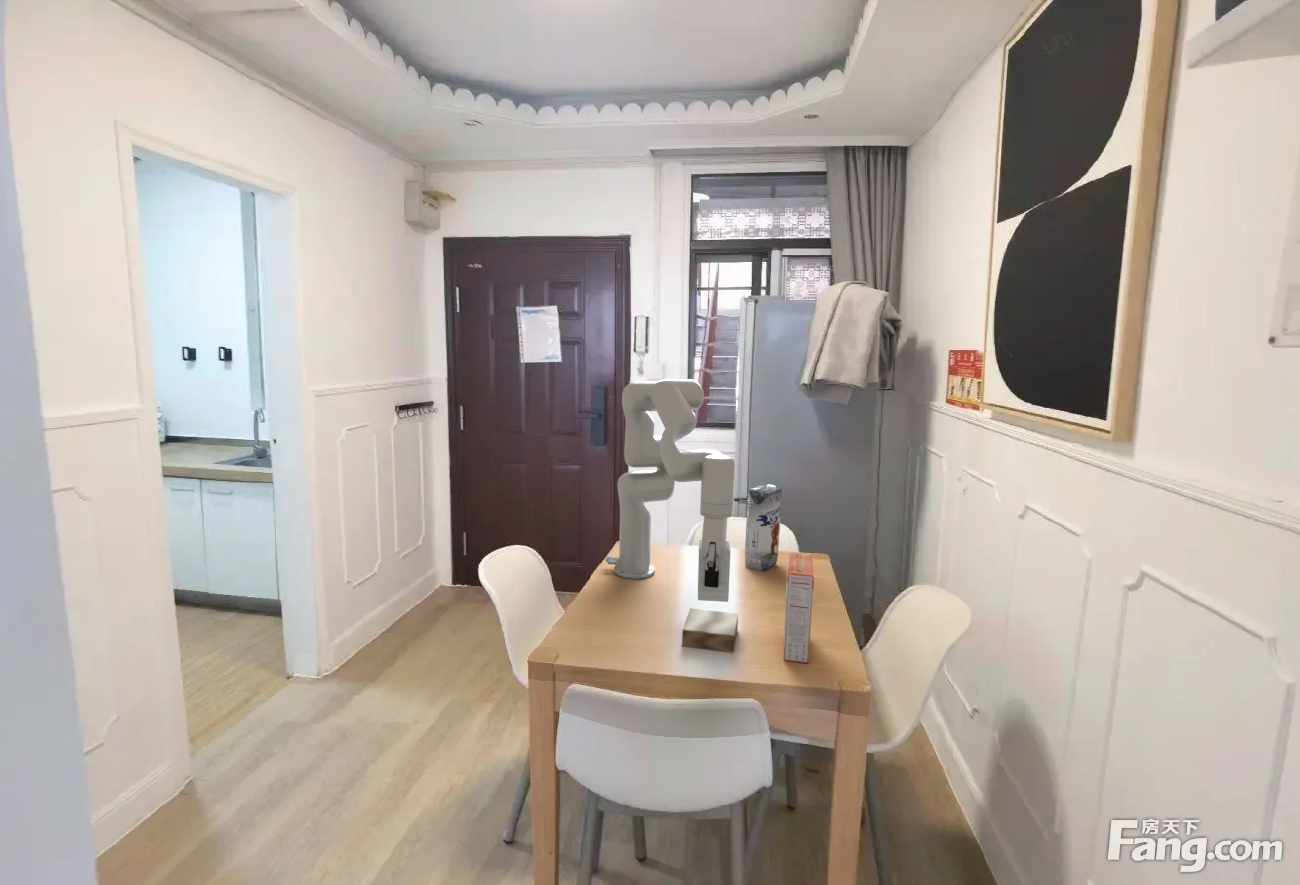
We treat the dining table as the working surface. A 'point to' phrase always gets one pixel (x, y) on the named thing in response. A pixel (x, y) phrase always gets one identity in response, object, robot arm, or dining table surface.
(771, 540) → the juice carton
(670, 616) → the dining table surface
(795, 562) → the cracker box
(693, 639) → the base block
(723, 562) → the supplement box
